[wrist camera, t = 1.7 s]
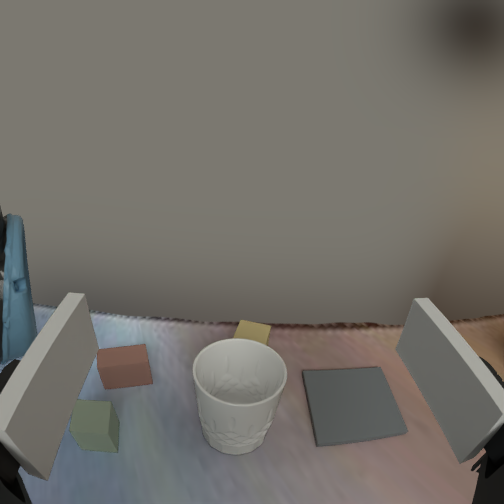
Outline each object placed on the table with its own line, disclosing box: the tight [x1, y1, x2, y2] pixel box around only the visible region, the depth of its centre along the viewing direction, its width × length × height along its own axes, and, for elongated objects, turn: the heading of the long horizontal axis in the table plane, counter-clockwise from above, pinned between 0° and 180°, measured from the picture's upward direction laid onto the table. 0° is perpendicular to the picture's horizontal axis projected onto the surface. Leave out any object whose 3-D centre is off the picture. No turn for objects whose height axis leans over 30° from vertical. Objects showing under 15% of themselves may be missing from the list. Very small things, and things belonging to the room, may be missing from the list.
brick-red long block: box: [97, 344, 153, 389], centre depth 33 cm, size 6×3×4 cm, turn 112°
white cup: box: [192, 338, 287, 455], centre depth 27 cm, size 8×8×10 cm
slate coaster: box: [302, 367, 408, 447], centre depth 33 cm, size 11×11×1 cm
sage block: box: [69, 399, 119, 453], centre depth 25 cm, size 4×4×4 cm
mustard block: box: [233, 320, 271, 346], centre depth 39 cm, size 4×4×4 cm
